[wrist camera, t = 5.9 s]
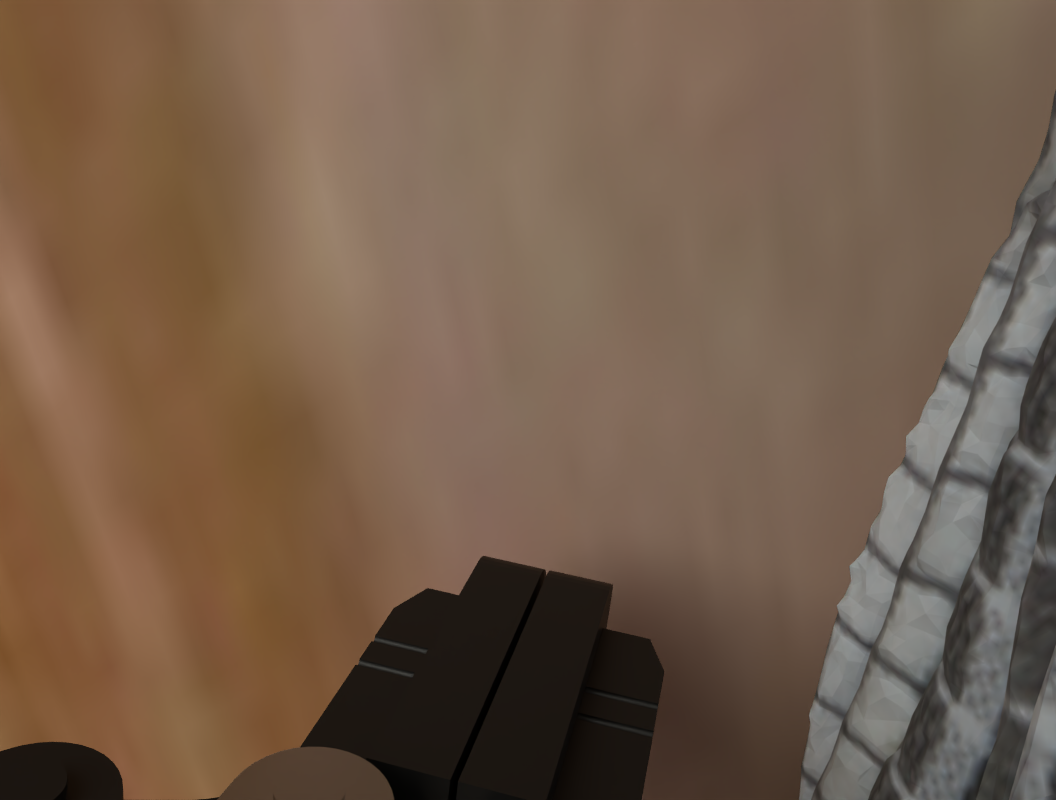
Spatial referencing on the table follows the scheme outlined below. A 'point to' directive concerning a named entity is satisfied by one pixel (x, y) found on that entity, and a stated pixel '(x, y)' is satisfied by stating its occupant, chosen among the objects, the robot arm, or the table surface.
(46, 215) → the table surface
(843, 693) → the towel
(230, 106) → the table surface
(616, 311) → the table surface
